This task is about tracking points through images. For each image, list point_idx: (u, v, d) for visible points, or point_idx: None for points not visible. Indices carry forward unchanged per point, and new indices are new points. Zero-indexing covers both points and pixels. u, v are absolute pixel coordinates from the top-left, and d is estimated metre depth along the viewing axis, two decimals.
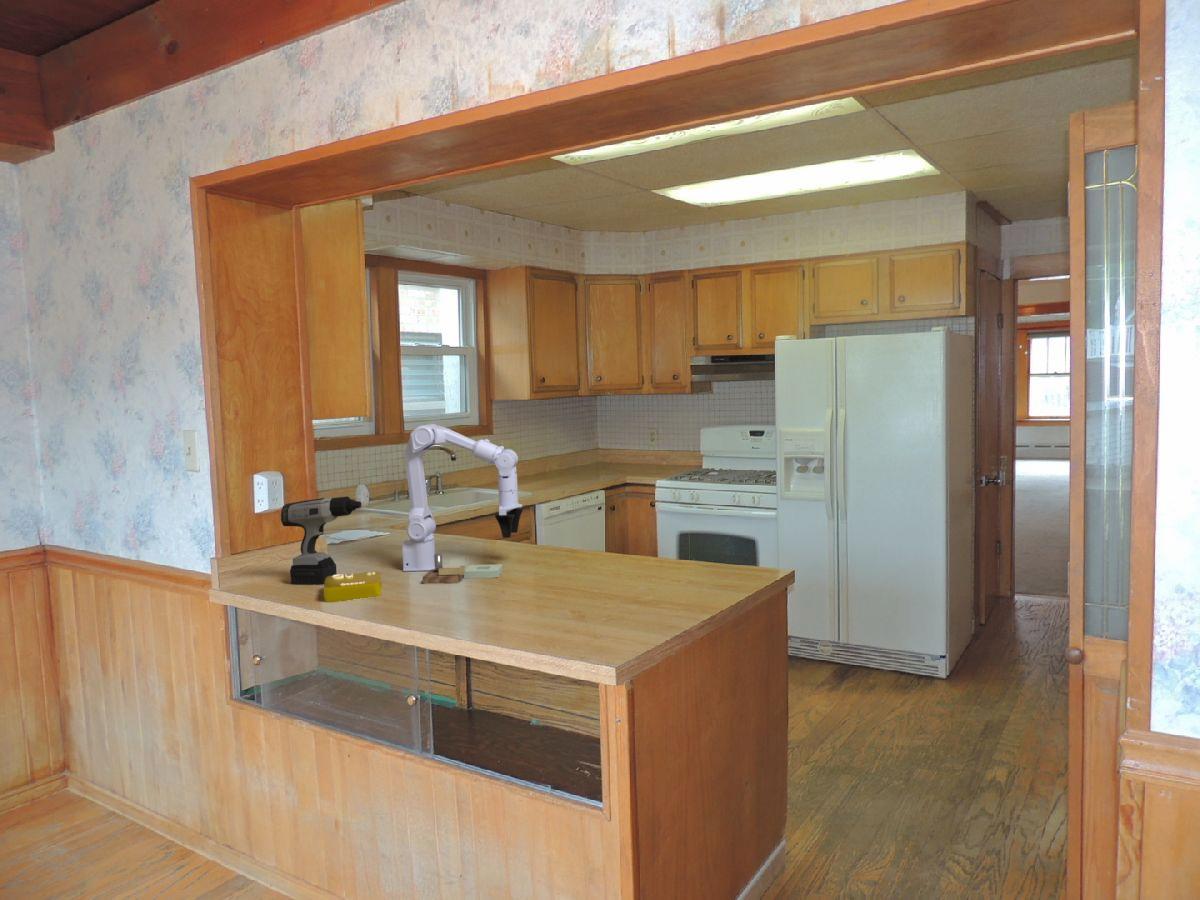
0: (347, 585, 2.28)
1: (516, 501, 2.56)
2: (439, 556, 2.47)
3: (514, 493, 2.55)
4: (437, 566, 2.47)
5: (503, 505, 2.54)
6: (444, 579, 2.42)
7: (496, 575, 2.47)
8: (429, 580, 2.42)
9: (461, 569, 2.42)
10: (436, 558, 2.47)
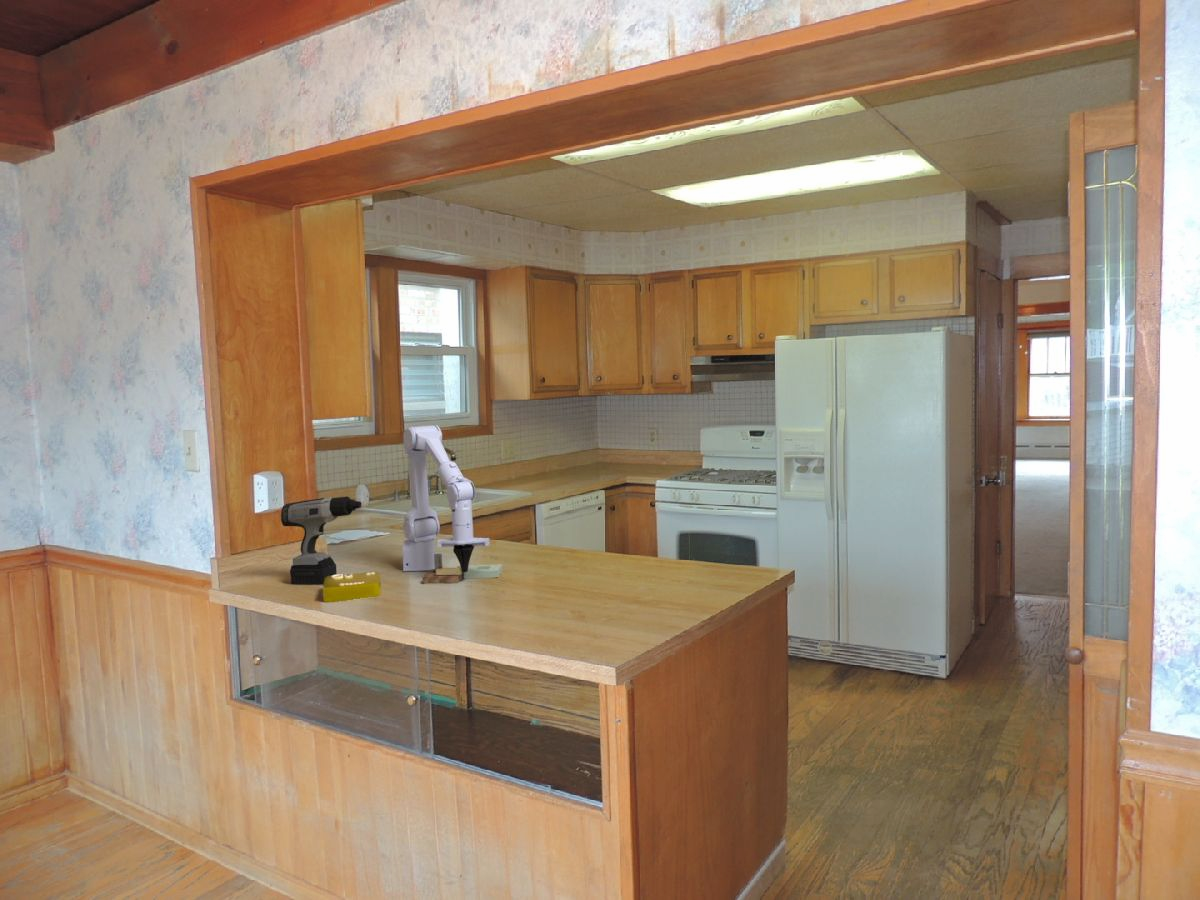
0: (346, 585, 2.28)
1: (457, 537, 2.39)
2: (439, 556, 2.47)
3: (455, 528, 2.40)
4: (437, 566, 2.47)
5: None
6: (444, 579, 2.42)
7: (496, 575, 2.47)
8: (429, 580, 2.42)
9: (458, 569, 2.42)
10: (436, 558, 2.47)
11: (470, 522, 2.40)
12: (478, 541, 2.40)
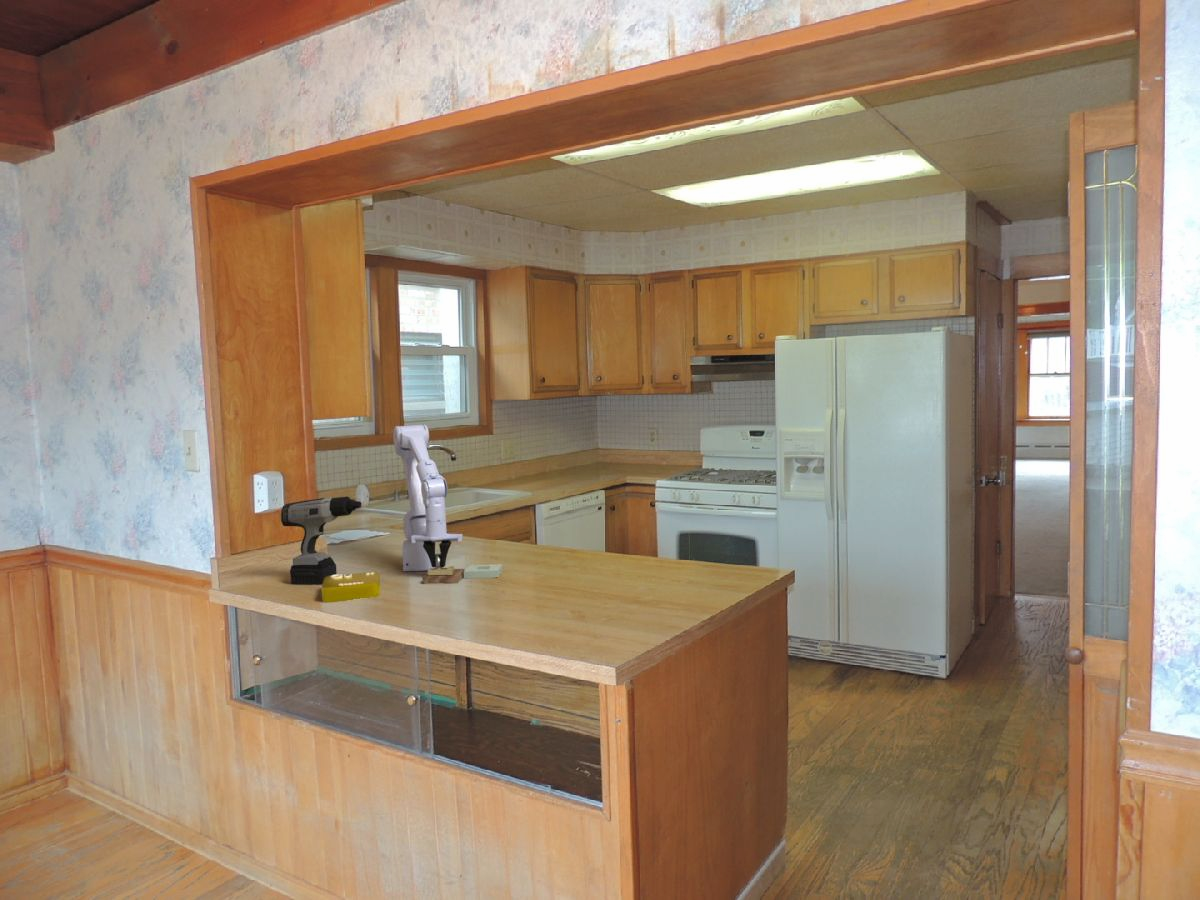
0: (345, 585, 2.28)
1: (431, 533, 2.45)
2: (439, 556, 2.47)
3: (428, 524, 2.45)
4: (437, 566, 2.47)
5: None
6: (444, 579, 2.42)
7: (496, 575, 2.47)
8: (429, 580, 2.42)
9: (450, 569, 2.42)
10: (436, 558, 2.47)
11: (442, 519, 2.45)
12: (451, 537, 2.46)
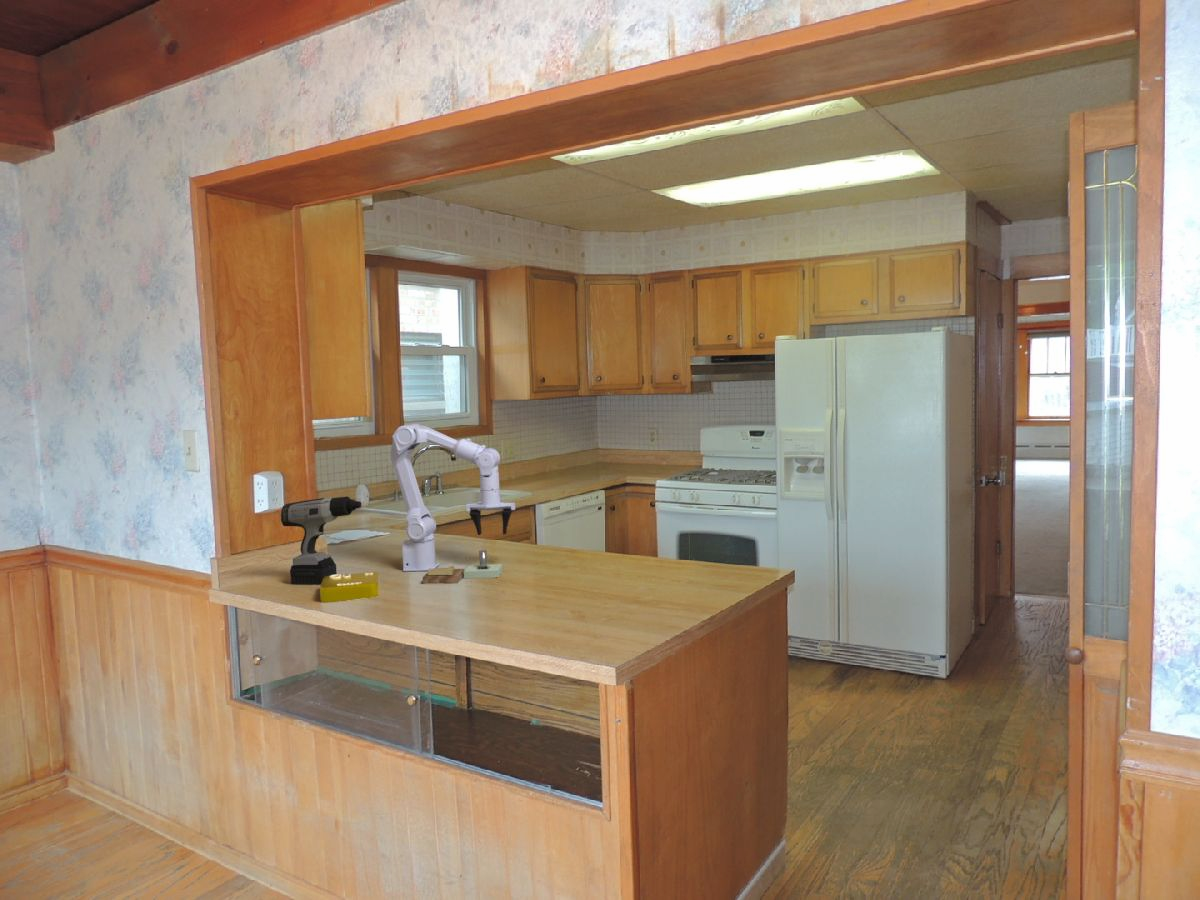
0: (343, 585, 2.28)
1: (485, 501, 2.54)
2: (484, 552, 2.49)
3: (483, 493, 2.54)
4: (482, 562, 2.49)
5: None
6: (444, 579, 2.42)
7: (496, 575, 2.47)
8: (429, 580, 2.42)
9: (450, 569, 2.42)
10: (481, 554, 2.49)
11: None
12: (505, 505, 2.55)
